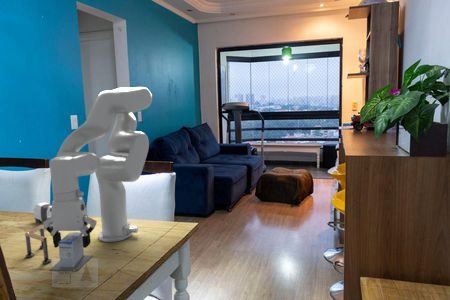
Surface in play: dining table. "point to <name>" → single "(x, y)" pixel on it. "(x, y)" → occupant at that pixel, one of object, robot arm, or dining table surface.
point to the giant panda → (42, 212)
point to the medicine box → (71, 249)
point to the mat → (76, 268)
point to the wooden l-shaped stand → (38, 237)
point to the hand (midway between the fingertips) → (72, 245)
